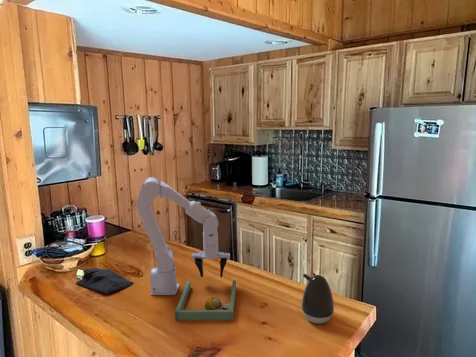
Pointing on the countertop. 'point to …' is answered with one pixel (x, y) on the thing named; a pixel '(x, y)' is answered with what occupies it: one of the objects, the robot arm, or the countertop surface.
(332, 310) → the pump dispenser
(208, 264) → the countertop surface
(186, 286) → the green u-shaped bracket
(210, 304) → the fruit
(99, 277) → the black fabric pouch
